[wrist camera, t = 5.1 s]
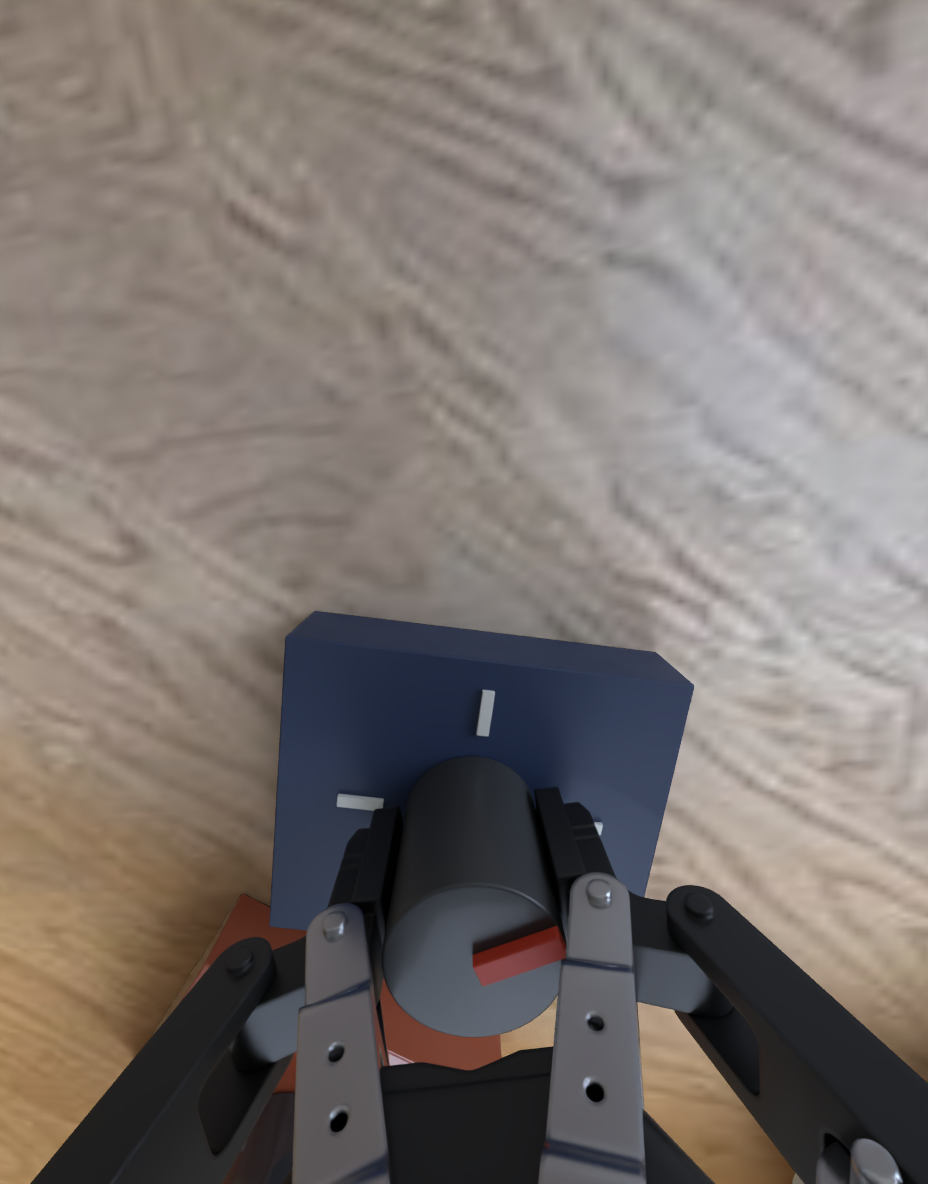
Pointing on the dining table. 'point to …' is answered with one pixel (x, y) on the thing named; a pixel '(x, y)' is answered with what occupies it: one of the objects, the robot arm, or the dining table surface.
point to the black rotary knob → (472, 904)
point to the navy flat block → (462, 736)
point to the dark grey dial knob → (267, 1145)
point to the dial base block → (402, 1031)
